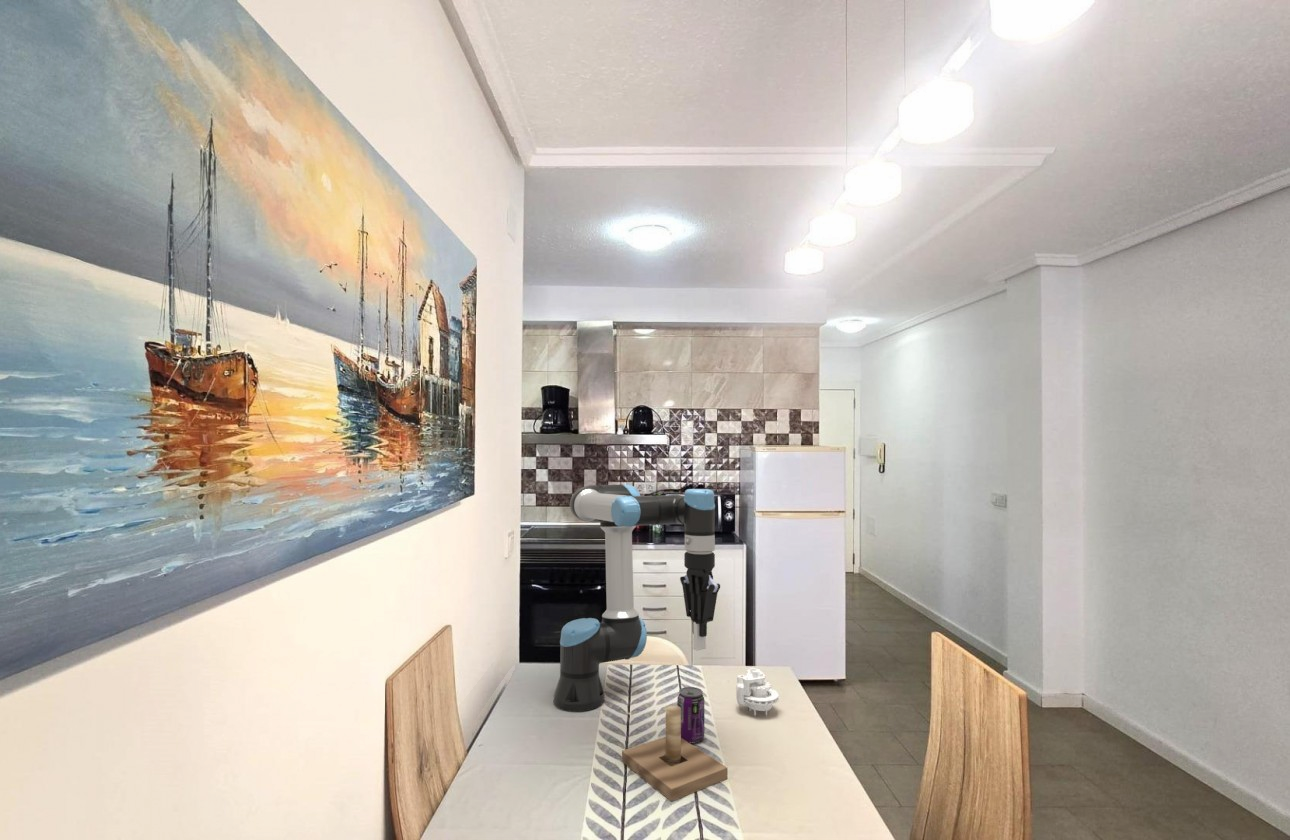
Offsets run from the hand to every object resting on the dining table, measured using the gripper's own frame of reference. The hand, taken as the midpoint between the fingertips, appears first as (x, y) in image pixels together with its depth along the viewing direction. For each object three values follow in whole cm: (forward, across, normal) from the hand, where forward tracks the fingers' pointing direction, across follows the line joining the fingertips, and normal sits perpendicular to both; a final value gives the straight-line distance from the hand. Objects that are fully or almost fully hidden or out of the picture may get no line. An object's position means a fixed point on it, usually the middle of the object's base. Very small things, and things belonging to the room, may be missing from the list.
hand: (699, 648), depth 144 cm
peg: (+26, 0, -8) cm, 28 cm away
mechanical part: (+27, -12, +32) cm, 43 cm away
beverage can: (+27, -10, +5) cm, 29 cm away
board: (+26, 0, -8) cm, 28 cm away
